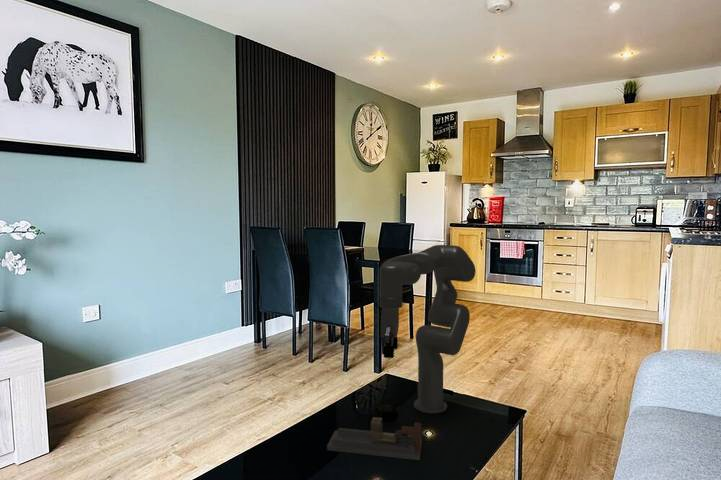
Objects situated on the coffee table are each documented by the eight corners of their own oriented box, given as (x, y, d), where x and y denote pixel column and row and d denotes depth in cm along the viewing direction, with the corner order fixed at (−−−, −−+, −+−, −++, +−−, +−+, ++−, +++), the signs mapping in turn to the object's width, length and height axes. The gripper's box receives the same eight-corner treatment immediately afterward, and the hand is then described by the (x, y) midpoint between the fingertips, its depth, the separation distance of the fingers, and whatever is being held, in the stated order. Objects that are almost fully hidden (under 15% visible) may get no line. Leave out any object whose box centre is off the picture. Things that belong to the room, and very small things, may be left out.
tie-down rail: (335, 434, 148) (335, 410, 148) (421, 443, 142) (421, 417, 142) (327, 450, 138) (326, 423, 138) (419, 460, 133) (419, 433, 132)
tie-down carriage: (373, 437, 143) (373, 416, 142) (408, 441, 141) (408, 419, 140) (370, 445, 138) (370, 423, 138) (407, 449, 136) (407, 427, 135)
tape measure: (398, 420, 159) (398, 410, 158) (381, 423, 156) (381, 413, 156) (391, 412, 165) (391, 402, 165) (374, 415, 163) (374, 405, 163)
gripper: (383, 296, 154) (383, 344, 155) (375, 306, 137) (375, 360, 138) (405, 297, 152) (404, 345, 153) (399, 307, 136) (399, 362, 137)
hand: (390, 352), depth 146 cm, fingers open, 9 cm apart
